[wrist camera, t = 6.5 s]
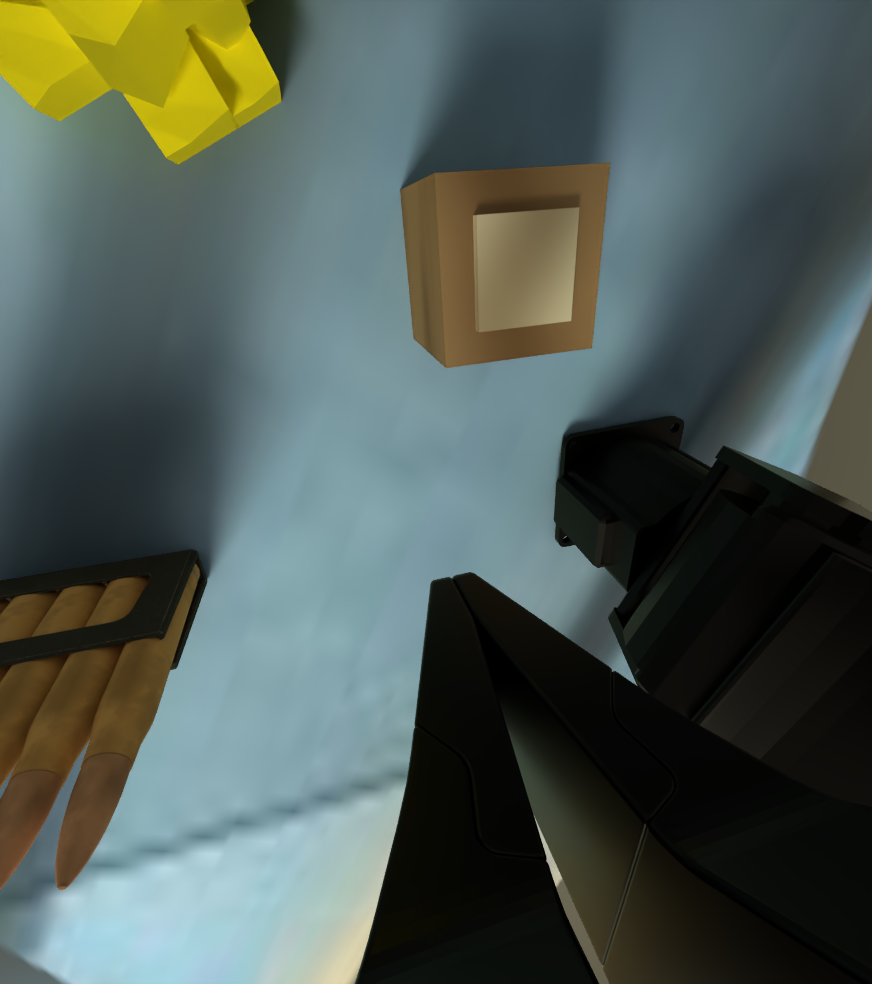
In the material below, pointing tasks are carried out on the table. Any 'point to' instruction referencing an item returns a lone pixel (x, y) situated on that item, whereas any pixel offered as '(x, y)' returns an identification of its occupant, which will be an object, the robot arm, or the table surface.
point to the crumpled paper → (141, 63)
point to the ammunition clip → (84, 691)
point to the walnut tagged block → (504, 260)
